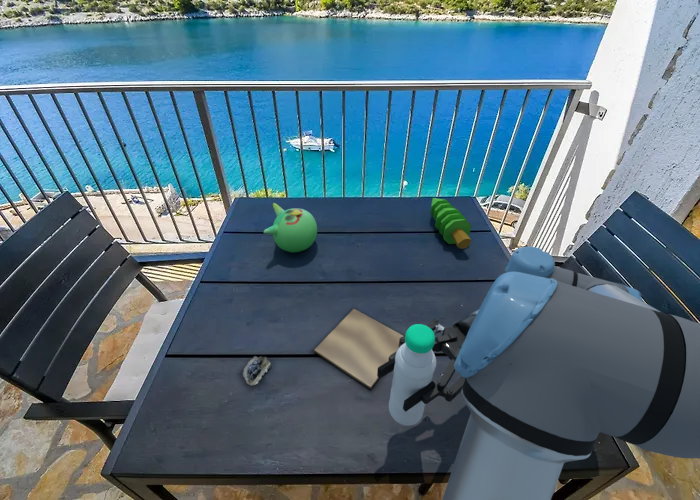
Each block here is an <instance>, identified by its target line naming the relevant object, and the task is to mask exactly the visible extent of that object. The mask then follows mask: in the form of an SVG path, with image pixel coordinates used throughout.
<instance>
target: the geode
mask: <svg viewBox="0 0 700 500" xmlns="http://www.w3.org/2000/svg"><path fill="white" fill-rule="evenodd" d="M271 367H272V363H271V362H270V360H269V359H268V357H267V356H259V357H258V356H256V355H254V356H253V357H252V358H251V359H250V360H249V361H248V362H247V364H246V365H245V367H244V368H243V372H242V376H243V377H242V378H244V380H245V382H246V384H247V385H248V386H251V387H252V386H256V385H258V384H259V382H260V381H261V380H262V376H264V375H265V373H267V372H268V370H269V369H271Z"/></svg>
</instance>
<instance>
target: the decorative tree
mask: <svg viewBox="0 0 700 500" xmlns="http://www.w3.org/2000/svg"><path fill="white" fill-rule="evenodd" d="M430 205H431V206H430V212H429V214H430V215H431V216H432V217H433V220H434V221H435V224H434V228H436V230H438V233H439V235H441V236H442V239H443V240H444V241H445V242H446V243H447V244H448V245H454V244H455V245H456V247H457V248H458V249H461V250H462V249H463V250H464V249H467V248H468V247H469V246H470V245H471V243H472V239H471V238H470V233H471V230H472V224H471V223H470V222H469V221H468V219H467V217H465V216H464V214H462V213H461V211H460V210H459V209H458V208H455V207H454V205H452V203H450V202H449V201H448V200H447V199H444V198H443V199H442V198H438V197H437V198H436V197H432V201H431V204H430Z"/></svg>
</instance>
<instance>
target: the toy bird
mask: <svg viewBox="0 0 700 500" xmlns="http://www.w3.org/2000/svg"><path fill="white" fill-rule="evenodd" d="M272 208H273V211H274V213H275V216H276V218H275V219H274V221H273V224H272V225H271V226H269V227H267V228H265V229H264V230H263V234H264V235H272V238H273V241H274V242H275V244H276V245H277V247H278V248H280V249H281V250H283V251H285V252H287V253H288V252H289V253H301V252H304V251H305V250H307V249H309V248H310V247H311V246H312V245H313V244H314V242H316V238H317V236H318V225H317V221H316V219H315V217H314V216H313V214H312V213H310V212H309V211H308V210H306V209H304V208H300V207H299V208H297V207H293V208H288V209H286V210H285V209H283V208H282V207H281V206H280V205H279V204H277V203H275V202H273V203H272Z"/></svg>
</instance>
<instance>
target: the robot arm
mask: <svg viewBox="0 0 700 500" xmlns="http://www.w3.org/2000/svg"><path fill="white" fill-rule="evenodd" d="M426 326H428V327H429V328H430V329H432V331H433V333H434V335H435V343H434V346H433V348H432V351H433V353H435V352H436V353H441V352H442V353H444V355H446V356H447V357H448V359H449V360H450V361H449V363H448V365H447V367H446V368H445V370H444V372H443V373H442V375H441V377H440V378H439V380H438V381H437V384H436V383H435V381H434V380H432V382H430V383H429V384H428V385H427V386H425V387H423V388H422V389H420V390H419V391H417V392H416V393H414V394H413V395H412V396H410V397H409V398H407V399H406V400H404V404H403V409H404V411H405V412H406V411H408V410H409V409H411V408H412V407H413V406H415V405H416V404H418V403H419V402H420V401H422V402H423V403H424V404H425V405H427V404H429V403H430V402H431V401H434V400H435V399H436V398H438V397H442V398H444V400H445V401H446V402H449V403H450V402H452V401H453V400H454V399H455V398H456V397H457V396H459V394H460V393H461V396H462V399H463V401H464V402H465V404H466V406H467V408H468V411H469V412H470V414H469V418H468V420H467V423H466V427H465V429H464V433H463V436H462V438H461V441H460V445H459V448H458V451H457V453H456V457H455V459H454V462H453V466H452V469H451V472H450V475H449V478H448V480H447V484H446V487H445V490H444V493H443V497H442V499H441V500H552V498H553V496H554V492H555V489H556V487H557V484H558V481H559V479H560V477H561V476H560V475H561V473H562V470H563V467H564V464H565V463H569V462H575V461H581V460H586V459H588V458H589V457H590V456H591V454H592V452H593V449H594V447H595V444H596V441H597V439H598V436H599V434H600V433H602V434H605V435H607V436H610V437H613V438H615V439H618V440H621V441H622V442H623V441H624V442H625V443H627V444H630V445H633V446H636V447H638V448H641V449H643V450H645V451H648V452H651V453H656V454H659V455H665V456H667V457H672V458H673V457H674V458H678V459H679V458H680V459H700V323H699V322H696V321H692V320H690V319H687V318H685V317H681V316H678V315H673V314H670V313H666V312H662V311H660V310H659V309H657V308H655V307H653V306H651V305H650V304H648V303H646V302H644V301H643V298H642V293H641V292H640V291H639V290H637V289H636V288H633V287H630V286H627V285H625V284H622V283H619V282H615V281H614V282H613V281H609V280H605V279H603V278H599V277H595V276H591V275H587V274H584V273H579V272H577V271H574V270H571V269H566V268H563V267H560V266H556V262H555V259H554V257H553V256H552V255H551V254H550V253H549V252H547V251H543V249H542V248H540V247H536V246H521V247H519V248H517V249H515V250H514V251H513V253H512V254H511V257H510V259H509V261H508V263H507V264H506V267H505V270H504V273H502V274H500V275H499V276H497V278H496V279H495V280H494V281H493V283H492V285H491V286H490V288H489V290H488V292H487V293H486V295H485V297H484V299H483V301H482V303H481V304H480V307H479V308H477V310H475V311H473V312H471V313H470V314H469V315H466V316H465V317H463V318H461V319H460V320H458V321H457V322H455V323H454V324H453V325H451V326H446V327H445V326H443V325H442V324H440V321H439V319H437V318H433V320H431V322H430V323H428V324H427V325H426ZM439 333H440V334H441V335H438V336H436V335H437V334H439ZM404 343H405V335H403V337H401V338H400V339H399V348H400V346H401V345H403V344H404ZM396 352H397V351H396ZM396 352H395V353H393V354H391V355H390V356H389V361H388V362H386V363H385V364H383V365H381V366H380V367H378V371H377V376H378V378H379V379H382V378H383V377H385V376H387V375H388V374H390V373H391V372H393V371H394V366H395V356H396ZM403 360H404V359H403ZM455 372H456V373H458V375H459V376H460V377H459V378H458V379H457V380H456V381H454V383H453V384H452V385H450V387H447V386H448V384H449V383H450V381H451V379H452V377H453V375H454V374H455ZM379 379H378V380H379Z"/></svg>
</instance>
